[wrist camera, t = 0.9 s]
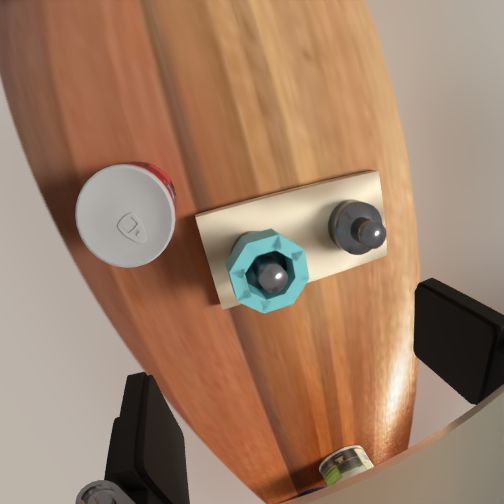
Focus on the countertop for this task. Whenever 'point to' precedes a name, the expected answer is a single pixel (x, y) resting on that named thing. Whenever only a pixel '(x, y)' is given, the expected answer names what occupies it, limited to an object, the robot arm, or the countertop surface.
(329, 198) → the base board
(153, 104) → the countertop surface
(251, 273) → the stand
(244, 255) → the teal octagonal collar
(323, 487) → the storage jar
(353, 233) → the knob
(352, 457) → the coffee can
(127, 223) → the canned food
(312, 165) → the countertop surface
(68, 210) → the countertop surface
